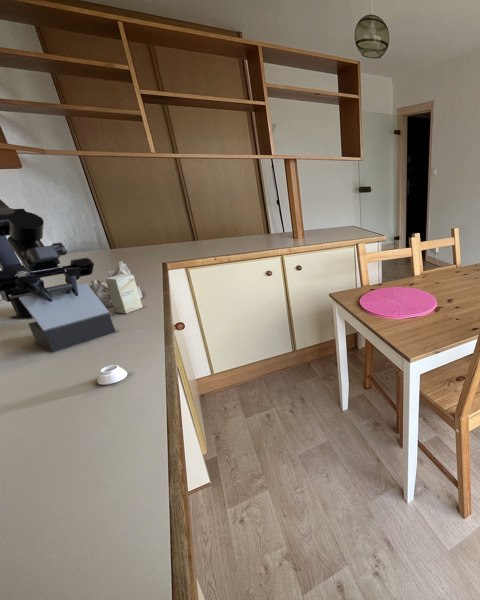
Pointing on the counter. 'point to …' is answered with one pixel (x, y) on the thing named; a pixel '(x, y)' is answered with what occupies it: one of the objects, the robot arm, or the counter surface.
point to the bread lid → (63, 306)
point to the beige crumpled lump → (102, 288)
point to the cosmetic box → (124, 293)
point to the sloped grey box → (72, 332)
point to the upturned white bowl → (111, 375)
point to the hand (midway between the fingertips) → (64, 298)
